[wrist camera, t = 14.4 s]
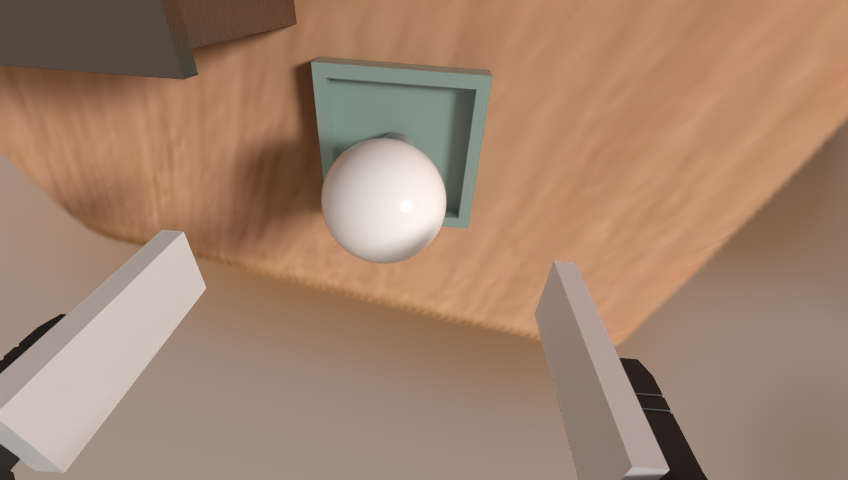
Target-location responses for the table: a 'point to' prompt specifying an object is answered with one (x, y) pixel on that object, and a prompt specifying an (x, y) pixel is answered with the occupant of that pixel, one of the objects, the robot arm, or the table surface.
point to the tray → (406, 117)
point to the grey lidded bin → (128, 32)
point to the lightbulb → (384, 200)
